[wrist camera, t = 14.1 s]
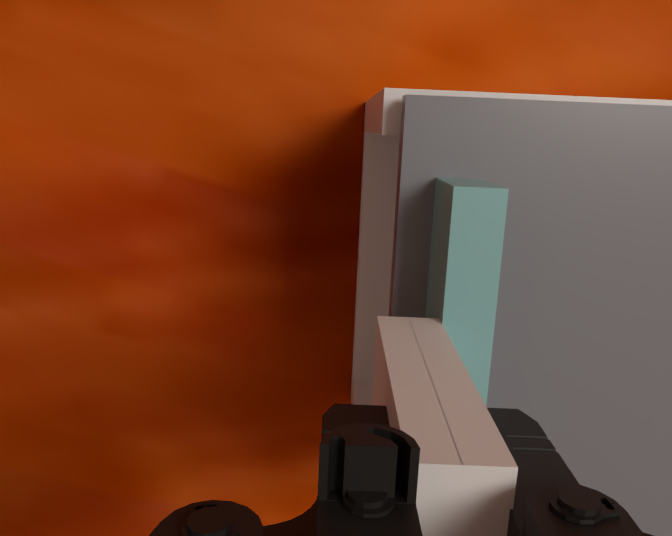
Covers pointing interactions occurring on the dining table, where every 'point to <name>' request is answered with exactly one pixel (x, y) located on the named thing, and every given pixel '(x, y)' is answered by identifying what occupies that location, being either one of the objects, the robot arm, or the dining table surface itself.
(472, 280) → the lid
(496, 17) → the dining table surface
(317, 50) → the dining table surface
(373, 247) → the housing
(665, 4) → the dining table surface
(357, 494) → the robot arm
